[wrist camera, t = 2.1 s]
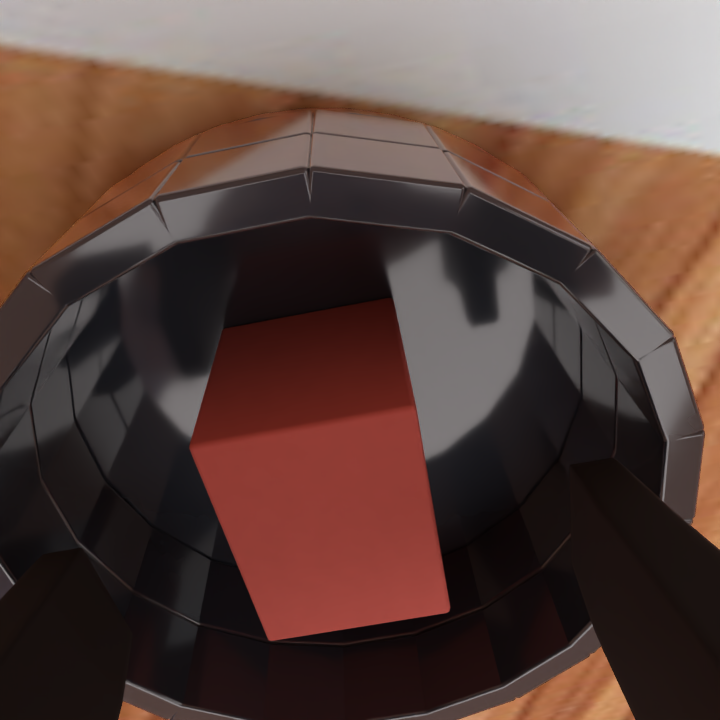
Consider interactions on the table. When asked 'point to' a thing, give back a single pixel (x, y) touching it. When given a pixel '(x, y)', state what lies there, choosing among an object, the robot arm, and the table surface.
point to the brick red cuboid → (321, 471)
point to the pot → (429, 383)
